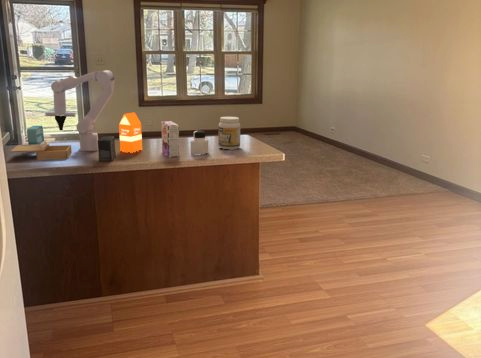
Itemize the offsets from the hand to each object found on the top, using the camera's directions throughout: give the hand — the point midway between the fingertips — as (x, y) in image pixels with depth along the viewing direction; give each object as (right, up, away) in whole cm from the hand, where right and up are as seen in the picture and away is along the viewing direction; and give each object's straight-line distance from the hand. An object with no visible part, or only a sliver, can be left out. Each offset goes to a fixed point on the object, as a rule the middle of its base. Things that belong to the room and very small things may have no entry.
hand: (61, 130), depth 239 cm
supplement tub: (+89, -9, +12) cm, 90 cm away
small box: (+30, -16, -18) cm, 39 cm away
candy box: (+59, -14, -6) cm, 61 cm away
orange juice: (+37, -11, +1) cm, 39 cm away
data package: (-13, -10, +1) cm, 17 cm away
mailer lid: (-8, -11, -17) cm, 22 cm away
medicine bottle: (+74, -13, -3) cm, 75 cm away
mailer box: (+2, -14, -14) cm, 20 cm away
